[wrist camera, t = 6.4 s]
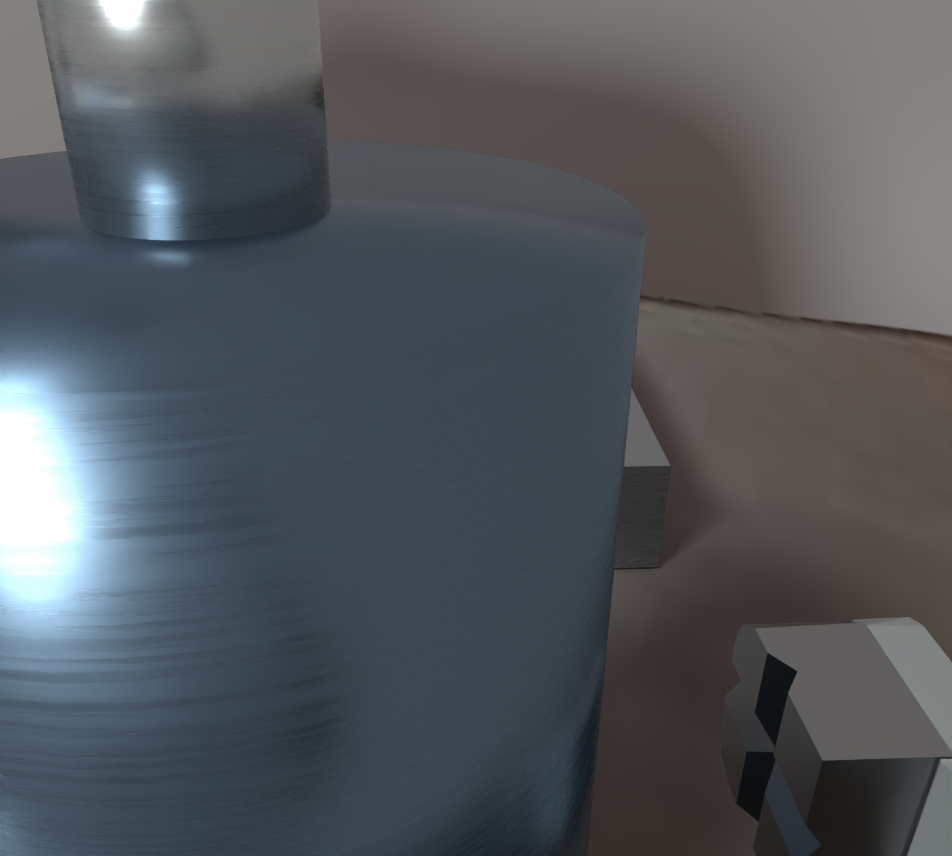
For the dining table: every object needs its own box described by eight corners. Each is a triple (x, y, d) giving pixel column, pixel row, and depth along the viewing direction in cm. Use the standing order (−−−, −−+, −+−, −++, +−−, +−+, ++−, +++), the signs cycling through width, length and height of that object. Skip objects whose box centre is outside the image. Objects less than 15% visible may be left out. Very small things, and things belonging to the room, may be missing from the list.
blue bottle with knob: (-5, 1153, 9) (-595, -99, 4) (345, 841, 13) (265, -60, 8) (297, 1674, 6) (-385, -273, 1) (644, 1093, 10) (848, -83, 5)
